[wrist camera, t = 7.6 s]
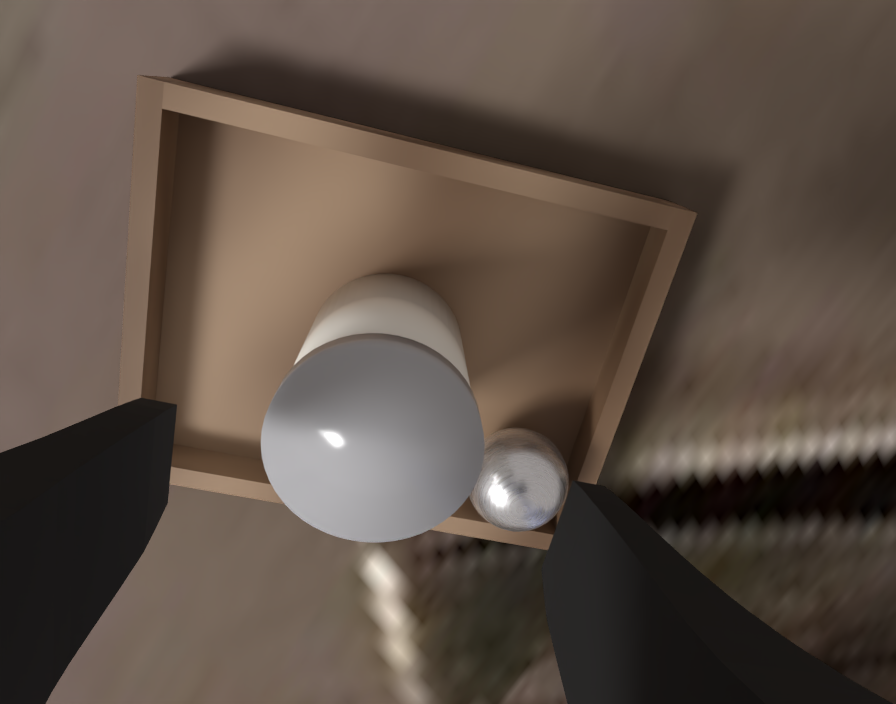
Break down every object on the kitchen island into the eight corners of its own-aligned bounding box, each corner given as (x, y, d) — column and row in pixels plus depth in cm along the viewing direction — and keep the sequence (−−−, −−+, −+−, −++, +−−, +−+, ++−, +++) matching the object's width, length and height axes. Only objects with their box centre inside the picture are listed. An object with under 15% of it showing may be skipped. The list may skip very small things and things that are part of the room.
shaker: (482, 289, 18) (509, 373, 13) (444, 429, 20) (455, 557, 14) (321, 253, 18) (277, 325, 12) (296, 400, 19) (247, 523, 14)
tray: (670, 201, 18) (697, 212, 17) (557, 515, 22) (570, 553, 20) (169, 77, 17) (137, 75, 15) (141, 440, 21) (113, 474, 19)
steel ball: (569, 420, 20) (593, 472, 17) (542, 500, 21) (560, 561, 18) (476, 401, 20) (485, 452, 17) (453, 483, 21) (458, 544, 18)
